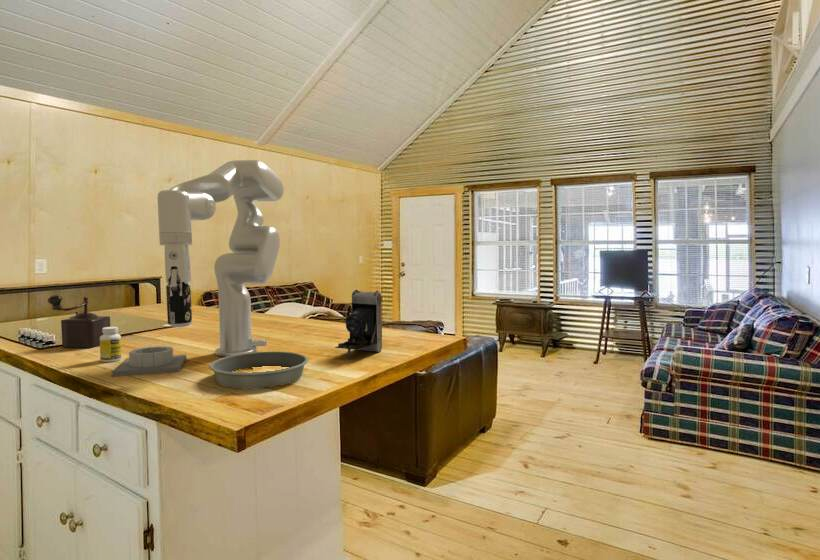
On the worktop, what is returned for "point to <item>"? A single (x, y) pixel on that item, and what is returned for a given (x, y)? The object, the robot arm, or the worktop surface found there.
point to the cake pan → (258, 359)
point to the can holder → (150, 361)
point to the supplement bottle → (110, 345)
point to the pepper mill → (80, 325)
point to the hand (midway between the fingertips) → (178, 309)
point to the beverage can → (186, 316)
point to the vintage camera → (364, 323)
